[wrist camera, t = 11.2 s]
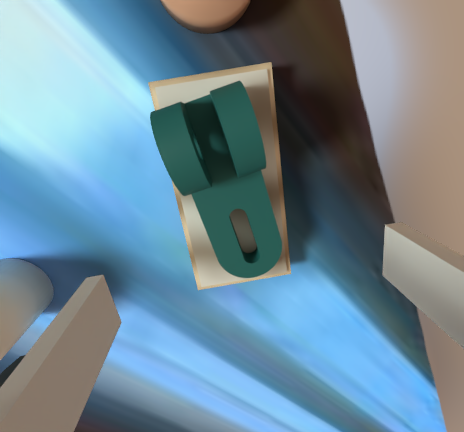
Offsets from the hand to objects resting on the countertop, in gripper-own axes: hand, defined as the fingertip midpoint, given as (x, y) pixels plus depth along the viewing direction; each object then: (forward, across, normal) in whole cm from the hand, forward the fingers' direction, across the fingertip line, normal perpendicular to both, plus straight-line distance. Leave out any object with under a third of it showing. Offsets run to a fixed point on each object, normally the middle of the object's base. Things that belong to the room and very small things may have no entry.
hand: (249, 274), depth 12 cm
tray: (+18, 0, 0) cm, 18 cm away
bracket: (+16, 0, 0) cm, 16 cm away
